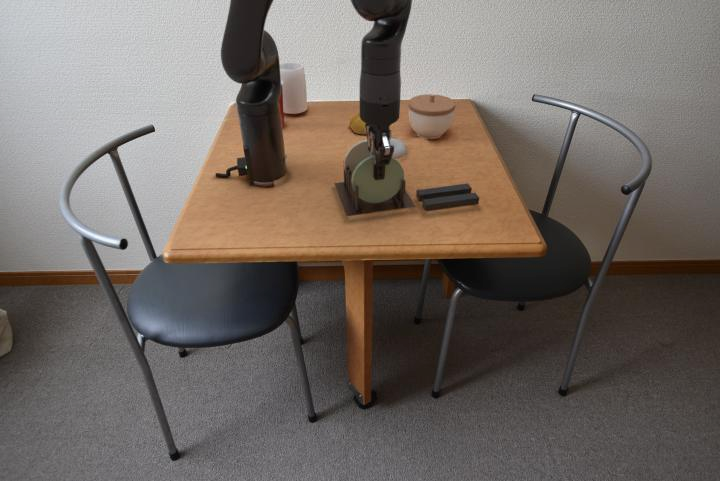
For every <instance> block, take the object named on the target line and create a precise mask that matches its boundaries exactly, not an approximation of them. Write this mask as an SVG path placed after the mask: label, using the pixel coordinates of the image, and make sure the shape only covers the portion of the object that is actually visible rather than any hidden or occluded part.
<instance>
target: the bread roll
mask: <svg viewBox="0 0 720 481" xmlns="http://www.w3.org/2000/svg"><path fill="white" fill-rule="evenodd" d="M348 125H349V128H350V129H351V130H352V131H353V132H354V133H355V134H358V135H367V134H366V127H365V122H363V121H362V120H361V119H360V112H358V113H356V114H354V115H353V116H352V117H351V118H350V119H349V122H348Z"/></svg>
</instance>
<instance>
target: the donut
mask: <svg viewBox="0 0 720 481" xmlns="http://www.w3.org/2000/svg"><path fill="white" fill-rule="evenodd" d="M392 145H393V146H394V152H393V155H392V157H394V158H395V159H397V160H398V159H400V158H403V157H404V156H406V155H407V153H408V146H407V144H406V143H405V142H404V141H402V140H401V139H398V138H395V137H391V140H390V146H392Z"/></svg>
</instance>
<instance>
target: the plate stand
mask: <svg viewBox="0 0 720 481" xmlns="http://www.w3.org/2000/svg"><path fill="white" fill-rule="evenodd" d="M472 190H473V188H472V186H471V185H470V184H469V183H461V184H453V185H445V186H437V187H429V188H422V189H416V192H415V193H416V194H415V197H416V198H417V200H418V201H419V202H422V205H421V207H422V208H423V210H424V211H425V212H429V211H436V210H443V209H451V208H458V207H464V206H465V207H466V206H473V205H478V204H479V203H480V196H479V195H478V194H477V192H472Z"/></svg>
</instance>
